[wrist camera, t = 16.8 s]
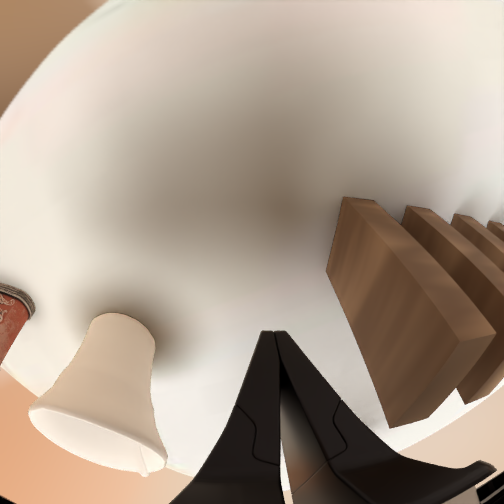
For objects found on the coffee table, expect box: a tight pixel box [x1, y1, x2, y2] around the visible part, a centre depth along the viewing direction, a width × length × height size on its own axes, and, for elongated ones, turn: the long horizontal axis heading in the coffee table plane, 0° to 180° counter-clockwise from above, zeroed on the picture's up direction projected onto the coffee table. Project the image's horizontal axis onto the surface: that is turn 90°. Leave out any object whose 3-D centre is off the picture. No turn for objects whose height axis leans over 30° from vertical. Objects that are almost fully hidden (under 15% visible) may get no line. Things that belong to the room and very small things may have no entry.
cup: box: [28, 313, 168, 477], centre depth 16 cm, size 9×9×10 cm
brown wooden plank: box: [401, 205, 504, 405], centre depth 13 cm, size 2×5×11 cm, turn 175°
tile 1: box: [326, 197, 497, 428], centre depth 12 cm, size 2×5×11 cm, turn 175°
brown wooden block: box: [451, 214, 504, 273], centre depth 13 cm, size 2×5×11 cm, turn 175°
